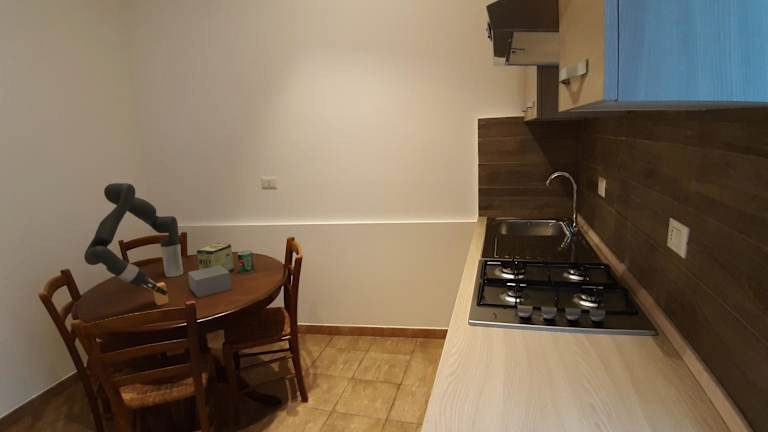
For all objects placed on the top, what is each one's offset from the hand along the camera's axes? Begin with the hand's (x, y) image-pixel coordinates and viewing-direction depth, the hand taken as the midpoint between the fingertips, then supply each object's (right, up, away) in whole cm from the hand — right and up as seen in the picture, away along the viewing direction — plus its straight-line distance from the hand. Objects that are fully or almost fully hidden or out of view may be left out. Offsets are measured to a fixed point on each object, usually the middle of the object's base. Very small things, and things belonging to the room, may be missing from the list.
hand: (163, 291), depth 206 cm
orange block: (-1, -5, 0) cm, 5 cm away
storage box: (+16, -1, +15) cm, 22 cm away
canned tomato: (+27, +4, +40) cm, 48 cm away
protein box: (+11, +3, +38) cm, 40 cm away
